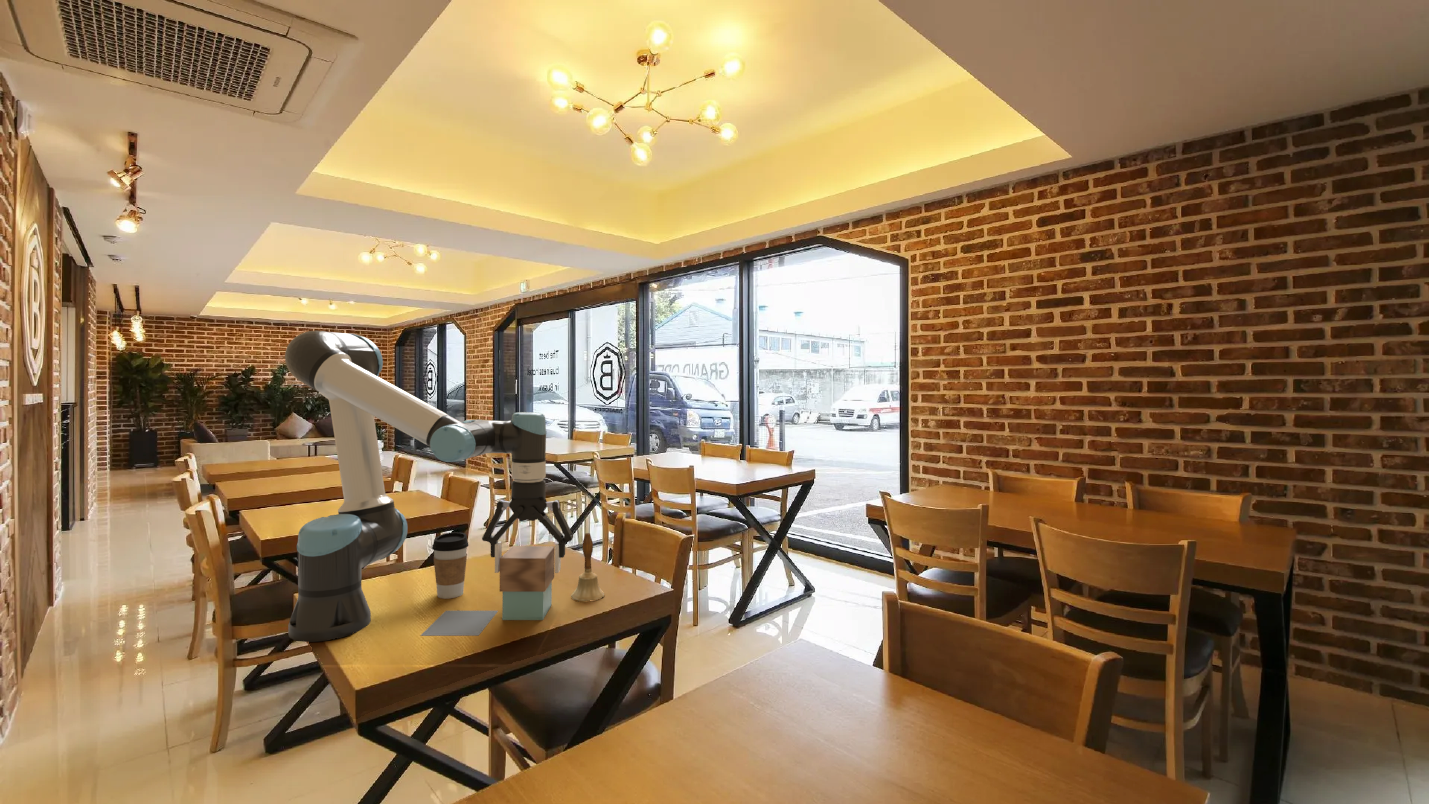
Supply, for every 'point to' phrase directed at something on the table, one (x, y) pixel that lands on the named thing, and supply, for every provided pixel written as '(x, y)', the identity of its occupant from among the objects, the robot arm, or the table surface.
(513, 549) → the brown wooden block
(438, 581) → the coffee cup
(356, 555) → the robot arm
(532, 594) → the mint square pot
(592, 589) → the hand bell
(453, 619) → the mat
